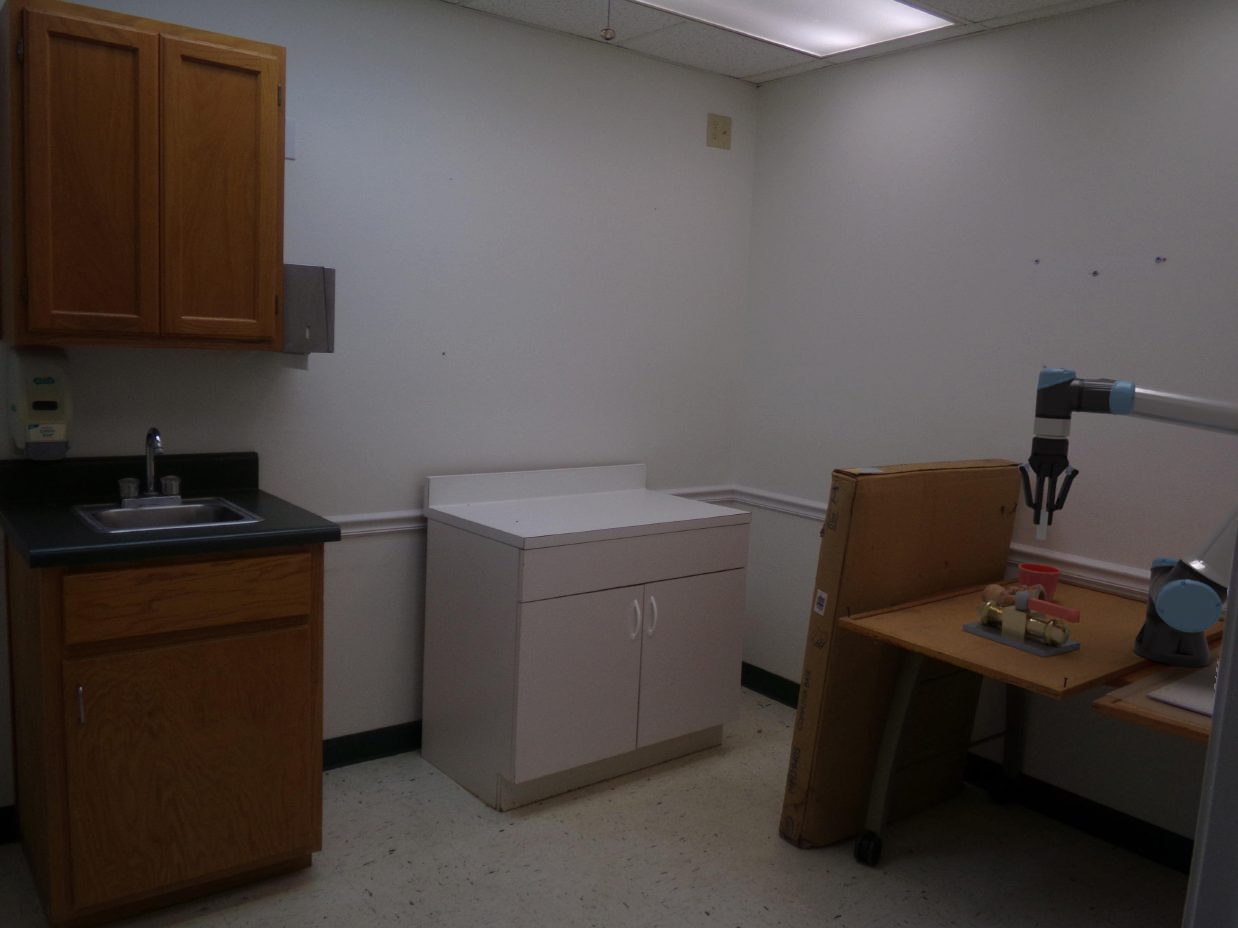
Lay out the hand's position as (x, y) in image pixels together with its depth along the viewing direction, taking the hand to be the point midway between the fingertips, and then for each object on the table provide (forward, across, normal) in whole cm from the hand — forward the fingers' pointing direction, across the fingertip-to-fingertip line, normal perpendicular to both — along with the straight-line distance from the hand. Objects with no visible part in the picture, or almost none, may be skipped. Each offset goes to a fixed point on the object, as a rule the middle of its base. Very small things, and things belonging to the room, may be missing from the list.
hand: (1040, 538), depth 209 cm
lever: (+19, -4, -3) cm, 19 cm away
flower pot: (+27, -11, -48) cm, 56 cm away
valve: (+26, +1, -8) cm, 28 cm away
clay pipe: (+27, -2, -27) cm, 38 cm away
